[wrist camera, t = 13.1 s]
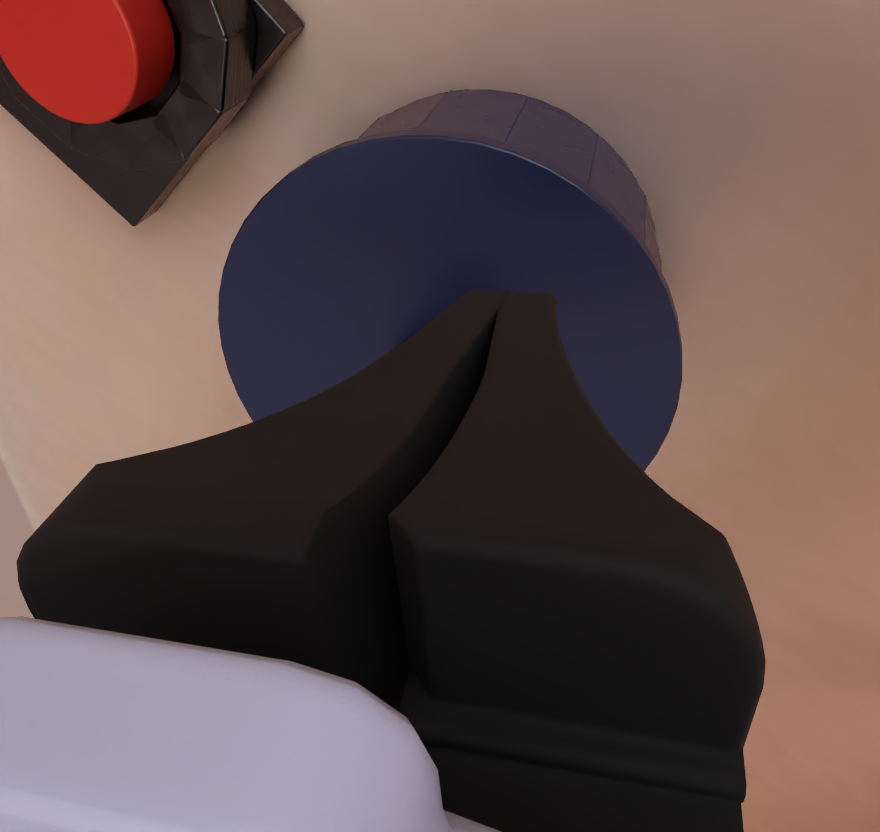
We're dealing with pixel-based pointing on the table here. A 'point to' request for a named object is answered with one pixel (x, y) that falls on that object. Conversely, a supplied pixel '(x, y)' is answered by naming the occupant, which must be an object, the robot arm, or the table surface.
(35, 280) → the table surface
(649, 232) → the pot
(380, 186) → the lid
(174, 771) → the robot arm
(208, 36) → the control block
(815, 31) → the table surface
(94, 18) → the button
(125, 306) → the table surface
